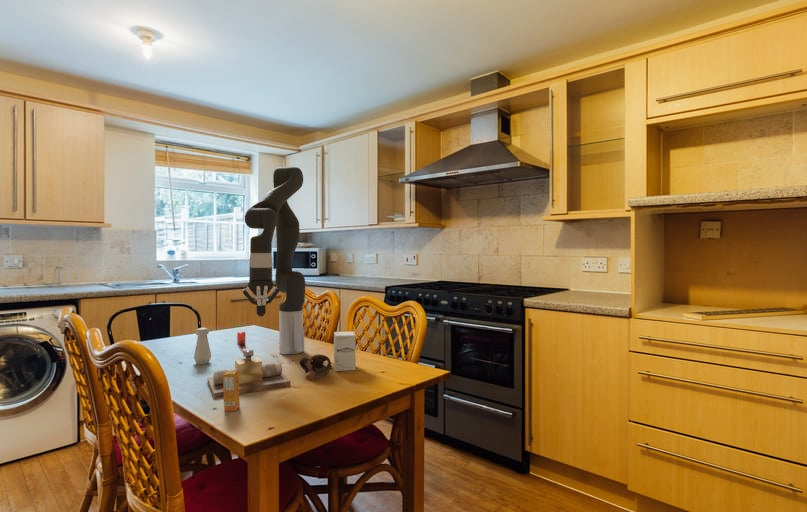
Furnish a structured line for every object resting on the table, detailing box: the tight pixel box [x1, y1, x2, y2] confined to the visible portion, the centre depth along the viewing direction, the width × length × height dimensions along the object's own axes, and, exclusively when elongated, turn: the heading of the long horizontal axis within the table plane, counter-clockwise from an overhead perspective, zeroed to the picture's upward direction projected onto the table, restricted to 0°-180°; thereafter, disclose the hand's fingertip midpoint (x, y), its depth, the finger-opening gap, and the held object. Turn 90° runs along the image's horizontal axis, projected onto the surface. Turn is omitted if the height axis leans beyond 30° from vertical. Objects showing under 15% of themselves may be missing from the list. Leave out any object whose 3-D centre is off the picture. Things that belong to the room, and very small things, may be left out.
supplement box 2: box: [333, 331, 357, 372], centre depth 152 cm, size 7×7×13 cm
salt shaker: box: [193, 327, 212, 365], centre depth 157 cm, size 6×6×13 cm
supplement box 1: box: [223, 371, 241, 412], centre depth 113 cm, size 3×4×10 cm
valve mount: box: [206, 356, 291, 399], centre depth 134 cm, size 22×16×9 cm
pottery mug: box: [299, 354, 334, 381], centre depth 142 cm, size 12×10×8 cm
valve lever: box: [236, 331, 254, 358], centre depth 139 cm, size 15×3×5 cm, turn 31°
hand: (260, 316), depth 147 cm, fingers closed
